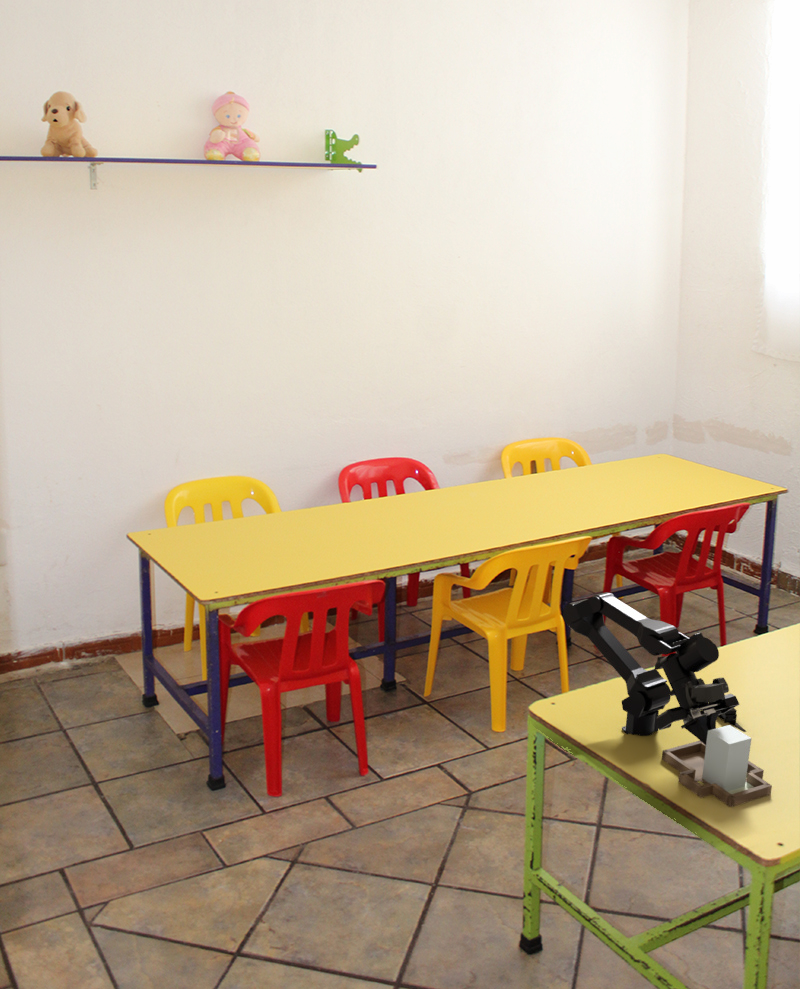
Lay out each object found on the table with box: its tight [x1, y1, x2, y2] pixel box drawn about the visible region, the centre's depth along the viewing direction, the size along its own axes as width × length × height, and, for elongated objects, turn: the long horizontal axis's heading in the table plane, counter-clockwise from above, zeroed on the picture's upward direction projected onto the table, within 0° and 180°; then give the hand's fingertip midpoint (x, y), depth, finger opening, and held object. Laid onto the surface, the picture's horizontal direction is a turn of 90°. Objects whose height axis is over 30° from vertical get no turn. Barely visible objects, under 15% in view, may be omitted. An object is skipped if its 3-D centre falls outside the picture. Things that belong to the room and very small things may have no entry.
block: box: [702, 724, 752, 792], centre depth 201 cm, size 6×6×11 cm
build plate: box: [717, 707, 748, 733], centre depth 230 cm, size 12×7×5 cm, turn 13°
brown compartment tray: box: [661, 740, 773, 808], centre depth 205 cm, size 20×17×3 cm
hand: (715, 750), depth 204 cm, fingers closed
